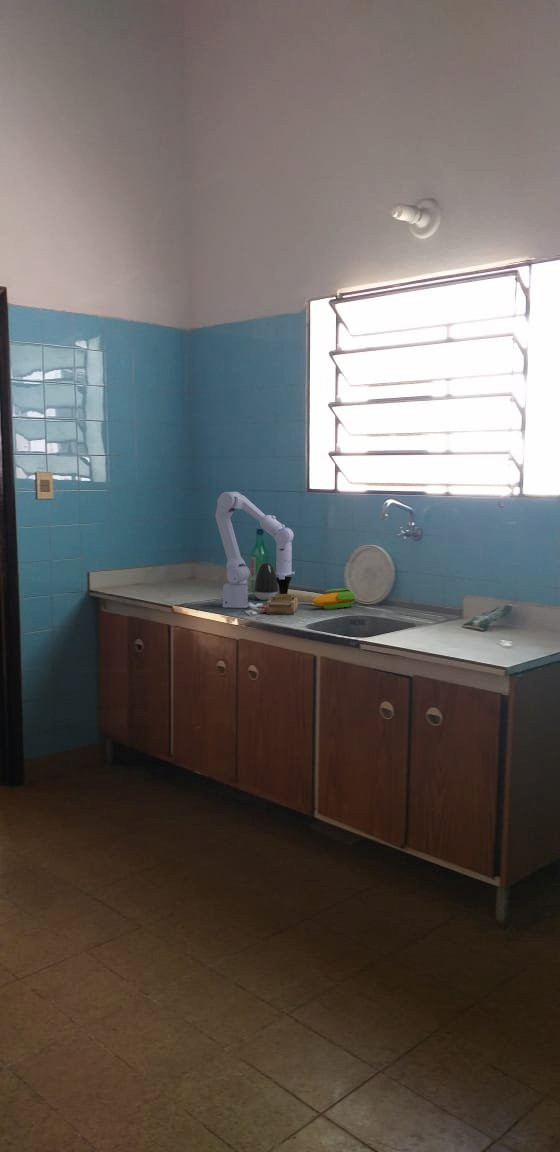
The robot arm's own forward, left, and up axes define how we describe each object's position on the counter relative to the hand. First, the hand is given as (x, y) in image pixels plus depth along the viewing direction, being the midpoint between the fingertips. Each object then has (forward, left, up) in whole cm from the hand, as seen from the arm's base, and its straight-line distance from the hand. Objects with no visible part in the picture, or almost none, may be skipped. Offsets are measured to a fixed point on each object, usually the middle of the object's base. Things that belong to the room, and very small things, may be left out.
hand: (283, 596), depth 346 cm
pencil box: (0, -4, -5) cm, 6 cm away
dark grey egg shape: (-10, +25, -5) cm, 27 cm away
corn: (+19, +6, -5) cm, 20 cm away
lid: (0, -6, -2) cm, 7 cm away
